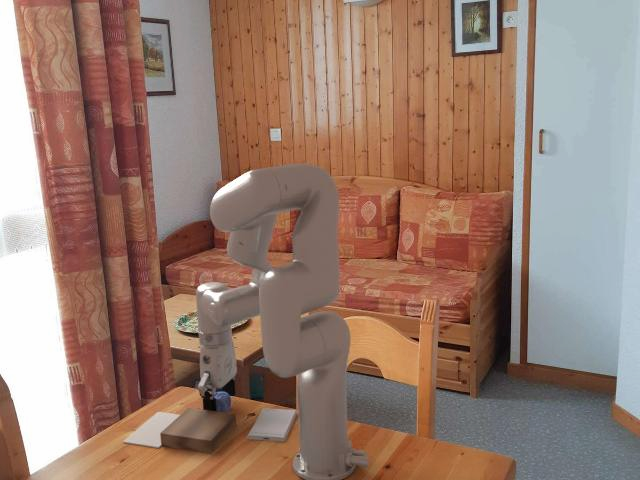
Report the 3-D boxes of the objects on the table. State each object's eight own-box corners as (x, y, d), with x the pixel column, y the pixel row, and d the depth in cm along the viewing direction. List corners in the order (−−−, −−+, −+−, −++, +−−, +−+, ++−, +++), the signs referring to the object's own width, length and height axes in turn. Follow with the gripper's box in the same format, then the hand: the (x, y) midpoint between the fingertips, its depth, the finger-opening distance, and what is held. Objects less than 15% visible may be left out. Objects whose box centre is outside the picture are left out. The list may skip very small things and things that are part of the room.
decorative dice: (216, 406, 154) (215, 390, 153) (231, 407, 153) (230, 391, 153) (209, 414, 150) (208, 398, 150) (225, 415, 150) (224, 399, 149)
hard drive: (262, 407, 150) (247, 434, 138) (296, 409, 149) (284, 437, 137) (262, 414, 150) (247, 441, 139) (296, 416, 149) (284, 444, 137)
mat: (191, 417, 149) (191, 416, 149) (158, 448, 136) (158, 447, 136) (158, 412, 152) (157, 411, 152) (122, 442, 139) (122, 441, 139)
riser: (236, 426, 144) (235, 413, 144) (211, 453, 133) (210, 440, 132) (189, 419, 148) (188, 407, 147) (161, 446, 137) (160, 433, 136)
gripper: (212, 351, 139) (217, 423, 143) (245, 324, 155) (249, 390, 159) (182, 348, 141) (187, 419, 145) (218, 322, 157) (222, 386, 161)
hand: (220, 404), depth 152 cm, fingers open, 9 cm apart
